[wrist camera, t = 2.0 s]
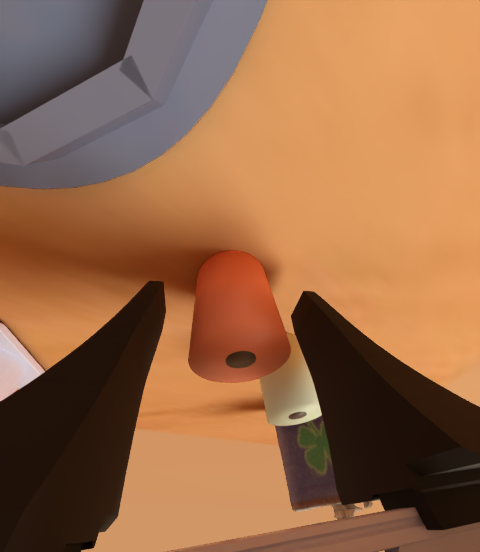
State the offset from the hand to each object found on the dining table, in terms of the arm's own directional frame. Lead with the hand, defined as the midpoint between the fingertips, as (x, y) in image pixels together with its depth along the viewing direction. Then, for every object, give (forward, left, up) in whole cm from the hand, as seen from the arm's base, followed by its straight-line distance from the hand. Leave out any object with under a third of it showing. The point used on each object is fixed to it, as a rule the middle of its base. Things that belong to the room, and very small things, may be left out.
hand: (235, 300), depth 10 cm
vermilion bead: (0, 0, -2) cm, 2 cm away
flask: (+13, -20, -2) cm, 24 cm away
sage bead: (+5, -7, -2) cm, 9 cm away
